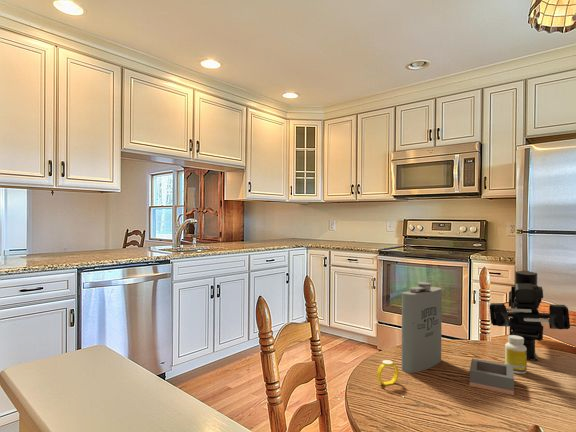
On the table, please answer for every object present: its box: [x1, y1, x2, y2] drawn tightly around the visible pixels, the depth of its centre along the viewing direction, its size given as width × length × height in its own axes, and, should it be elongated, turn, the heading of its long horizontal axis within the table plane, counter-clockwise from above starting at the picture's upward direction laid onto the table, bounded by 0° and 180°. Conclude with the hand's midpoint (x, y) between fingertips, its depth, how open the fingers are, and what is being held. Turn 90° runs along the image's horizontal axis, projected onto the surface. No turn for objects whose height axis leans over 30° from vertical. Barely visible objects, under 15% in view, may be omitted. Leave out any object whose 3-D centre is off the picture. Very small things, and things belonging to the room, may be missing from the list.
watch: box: [376, 359, 399, 386], centre depth 97 cm, size 6×3×6 cm, turn 111°
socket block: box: [469, 357, 515, 396], centre depth 98 cm, size 10×10×4 cm
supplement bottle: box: [504, 334, 528, 375], centre depth 107 cm, size 5×5×10 cm
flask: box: [400, 281, 443, 374], centre depth 110 cm, size 17×5×25 cm, turn 128°
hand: (529, 325), depth 97 cm, fingers open, 9 cm apart
